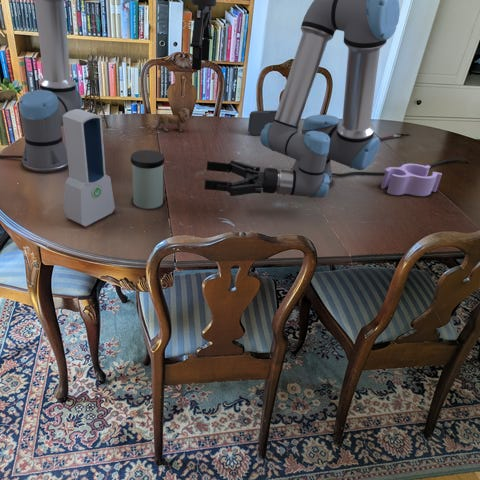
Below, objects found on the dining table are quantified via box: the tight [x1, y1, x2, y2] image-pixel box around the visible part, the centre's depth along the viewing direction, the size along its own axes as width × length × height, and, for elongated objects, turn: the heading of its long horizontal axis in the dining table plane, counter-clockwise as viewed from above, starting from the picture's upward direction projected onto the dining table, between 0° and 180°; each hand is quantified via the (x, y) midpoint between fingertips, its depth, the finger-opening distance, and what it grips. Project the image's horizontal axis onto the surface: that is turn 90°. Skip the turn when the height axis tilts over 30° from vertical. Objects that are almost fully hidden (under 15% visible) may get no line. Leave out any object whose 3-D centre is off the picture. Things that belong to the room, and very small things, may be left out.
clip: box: [380, 163, 443, 197], centre depth 168 cm, size 20×12×7 cm, turn 109°
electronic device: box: [62, 109, 116, 227], centre depth 126 cm, size 12×8×30 cm, turn 148°
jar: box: [131, 163, 164, 210], centre depth 140 cm, size 9×9×15 cm
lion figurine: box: [154, 107, 190, 132], centre depth 195 cm, size 15×5×9 cm, turn 110°
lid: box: [130, 149, 165, 168], centre depth 136 cm, size 10×10×2 cm
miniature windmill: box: [78, 51, 110, 128], centre depth 183 cm, size 9×8×30 cm
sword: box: [378, 133, 409, 141], centre depth 213 cm, size 31×3×1 cm, turn 126°
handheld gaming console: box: [247, 109, 299, 136], centre depth 202 cm, size 23×3×10 cm, turn 108°
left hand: (200, 65), depth 149 cm, fingers open, 13 cm apart
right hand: (205, 174), depth 138 cm, fingers open, 13 cm apart
